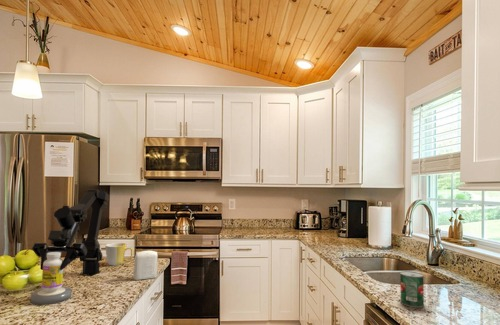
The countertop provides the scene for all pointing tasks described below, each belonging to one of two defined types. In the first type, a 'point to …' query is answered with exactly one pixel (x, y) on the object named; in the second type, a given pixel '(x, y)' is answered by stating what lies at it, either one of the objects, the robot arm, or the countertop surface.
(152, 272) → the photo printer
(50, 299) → the charcoal trivet
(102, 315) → the countertop surface
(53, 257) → the supplement bottle
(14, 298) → the countertop surface
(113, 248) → the mug
